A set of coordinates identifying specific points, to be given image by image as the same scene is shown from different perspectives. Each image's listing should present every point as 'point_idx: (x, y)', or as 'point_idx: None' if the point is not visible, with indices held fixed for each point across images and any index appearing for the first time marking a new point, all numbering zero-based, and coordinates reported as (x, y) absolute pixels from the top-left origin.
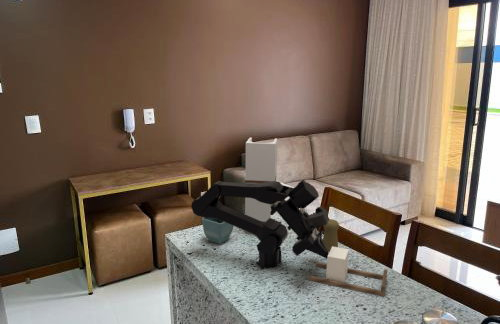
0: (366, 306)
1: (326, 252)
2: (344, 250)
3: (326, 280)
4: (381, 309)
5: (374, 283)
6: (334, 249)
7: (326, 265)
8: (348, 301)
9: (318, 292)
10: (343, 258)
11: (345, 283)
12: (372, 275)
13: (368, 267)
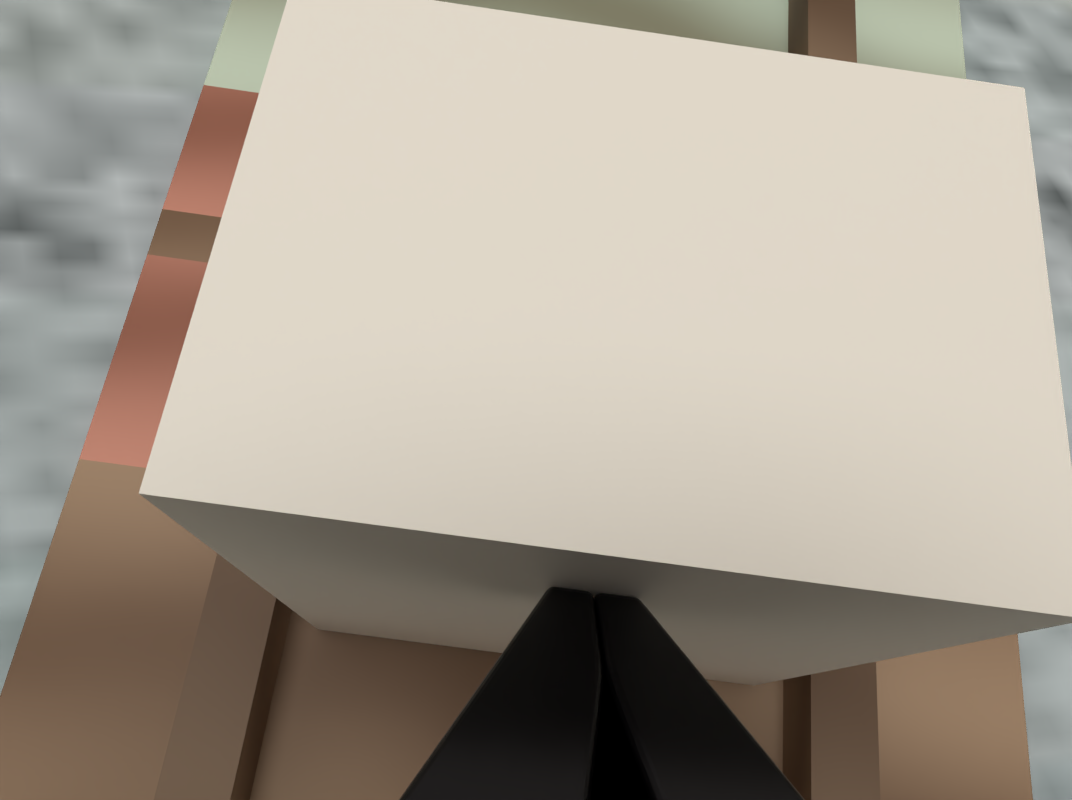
0: (1061, 151)
1: (688, 693)
2: (409, 92)
3: (870, 664)
4: (1035, 23)
5: None
6: (413, 395)
7: (248, 722)
8: (1067, 338)
9: (1063, 785)
10: (975, 124)
11: None
12: None
13: (46, 75)
